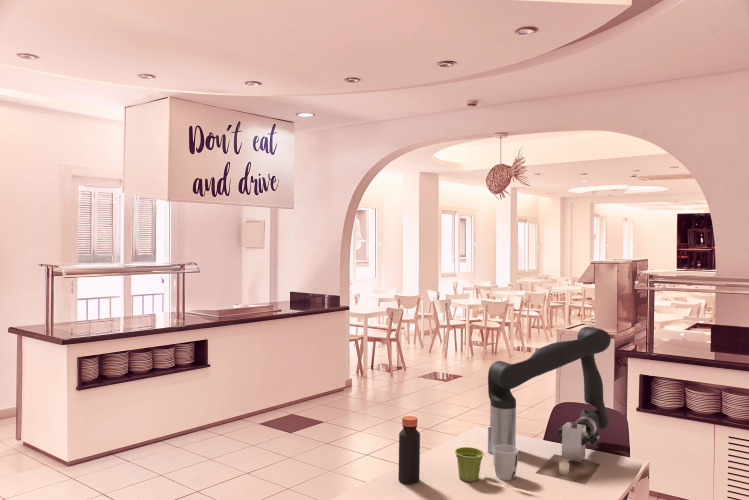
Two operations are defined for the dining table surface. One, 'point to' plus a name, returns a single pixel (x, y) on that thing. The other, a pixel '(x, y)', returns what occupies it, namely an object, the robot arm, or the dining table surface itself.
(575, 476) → the walnut board
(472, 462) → the plant pot
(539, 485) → the dining table surface
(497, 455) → the cup
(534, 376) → the robot arm
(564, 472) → the beige cylinder
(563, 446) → the steel cover
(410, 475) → the bottle
